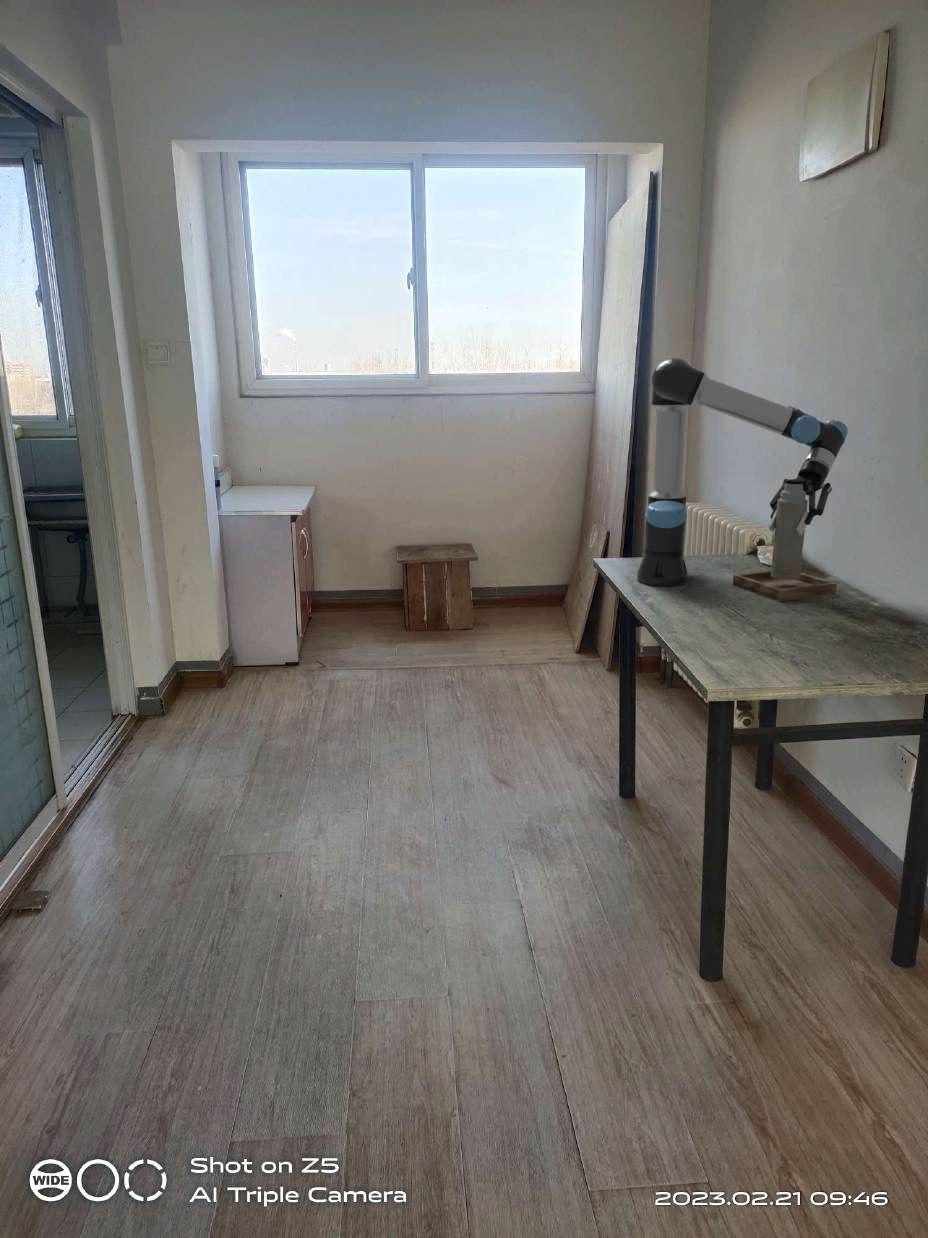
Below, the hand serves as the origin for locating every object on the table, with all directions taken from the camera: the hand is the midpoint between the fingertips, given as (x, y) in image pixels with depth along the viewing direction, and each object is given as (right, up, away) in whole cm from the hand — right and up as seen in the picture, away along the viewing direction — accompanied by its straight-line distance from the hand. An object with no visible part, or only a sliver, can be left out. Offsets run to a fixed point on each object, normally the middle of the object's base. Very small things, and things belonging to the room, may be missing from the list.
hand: (784, 530), depth 236 cm
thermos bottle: (+3, -13, +7) cm, 15 cm away
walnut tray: (+2, -16, +8) cm, 18 cm away
